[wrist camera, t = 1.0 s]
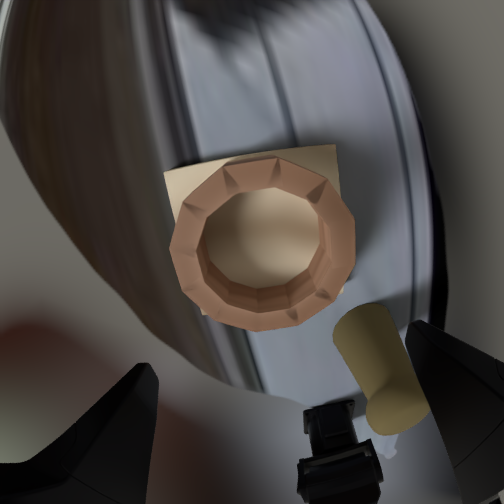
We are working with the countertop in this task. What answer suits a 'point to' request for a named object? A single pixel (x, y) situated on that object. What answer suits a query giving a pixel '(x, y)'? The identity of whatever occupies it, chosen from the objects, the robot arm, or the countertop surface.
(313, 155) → the socket board
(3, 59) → the countertop surface
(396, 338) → the cork
